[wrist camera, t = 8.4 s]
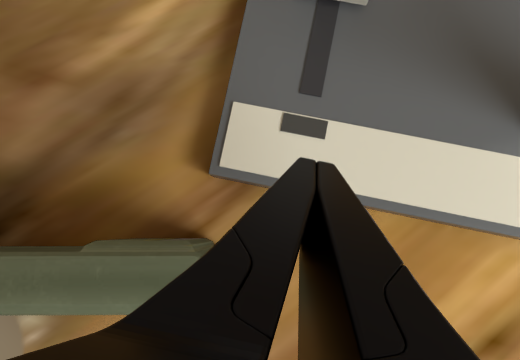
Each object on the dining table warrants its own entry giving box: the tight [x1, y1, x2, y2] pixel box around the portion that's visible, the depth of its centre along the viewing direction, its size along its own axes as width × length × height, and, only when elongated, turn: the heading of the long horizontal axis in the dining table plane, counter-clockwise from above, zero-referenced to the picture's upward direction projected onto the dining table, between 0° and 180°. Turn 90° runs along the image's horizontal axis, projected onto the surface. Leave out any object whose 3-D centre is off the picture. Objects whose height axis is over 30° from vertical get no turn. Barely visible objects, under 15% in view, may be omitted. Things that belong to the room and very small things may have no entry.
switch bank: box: [209, 0, 520, 240], centre depth 20 cm, size 14×22×2 cm, turn 78°
